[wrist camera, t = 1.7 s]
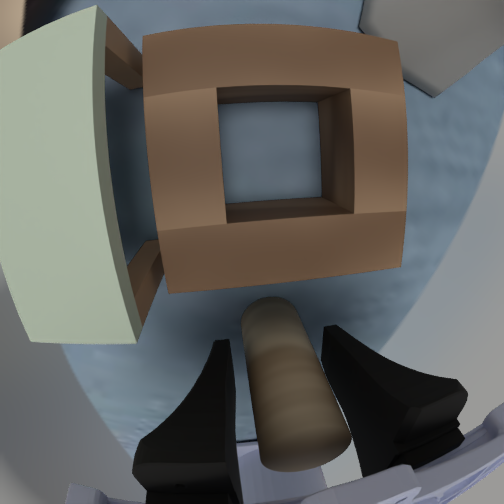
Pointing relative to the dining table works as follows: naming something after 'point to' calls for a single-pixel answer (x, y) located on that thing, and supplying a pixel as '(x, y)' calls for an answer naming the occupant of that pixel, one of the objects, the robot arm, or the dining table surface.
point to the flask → (437, 36)
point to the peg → (289, 391)
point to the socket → (285, 210)
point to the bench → (68, 186)
